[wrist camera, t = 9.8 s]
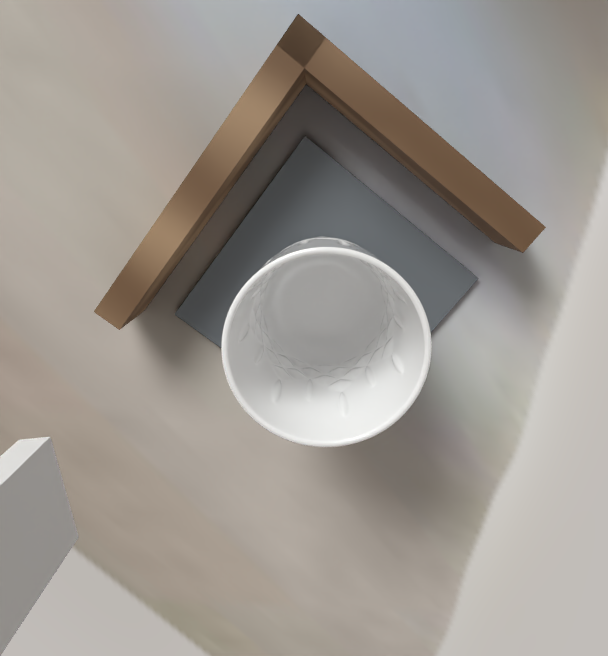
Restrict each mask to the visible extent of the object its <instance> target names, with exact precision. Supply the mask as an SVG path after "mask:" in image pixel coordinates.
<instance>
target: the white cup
mask: <svg viewBox="0 0 608 656" xmlns="http://www.w3.org/2000/svg"><path fill="white" fill-rule="evenodd" d="M431 349H432V344H431V333H430V327H429V323H428V319H427V316H426V313H425V311H424V308H423V306H422V304H421V302H420V300H419V298H418V297H417V295H416V294H415V292H414V291H413V289H412V288H411V287H410V285H409V284H408V283H407V282H406V281H405V280H404V279H403V278H402V277H401V276H400V275H399V274H398V273H397V272H396V271H395V270H393V269H392V268H391V267H389V266H388V265H386V264H385V263H384V262H382V261H381V260H380V259H378V258H377V257H375V256H374V255H373V254H372V253H370V252H369V251H367V250H365V249H364V248H362V247H360V246H358V245H356V244H354V243H351V242H350V241H346V240H342V239H338V238H331V237H326V236H319V237H315V238H311V239H306V240H302V241H299V242H295V243H294V244H292V245H290V246H288V247H287V248H285V249H284V250H282V251H281V252H279V253H278V254H276V255H275V256H274V257H272V258H271V259H270V260H269V261H267V262H266V263H265V264H264V265H263V266H262V267H261V268H260V270H259V271H258V272H257V273H255V274H254V275H253V276H252V277H251V278H250V279H249V280H248V281H247V282H246V284H245V285H244V286H243V287H242V289H241V290H240V291H239V293H238V294H237V296H236V297H235V299H234V301H233V303H232V305H231V307H230V309H229V311H228V314H227V317H226V320H225V324H224V328H223V333H222V345H221V350H222V362H223V367H224V371H225V375H226V378H227V381H228V384H229V386H230V388H231V390H232V392H233V394H234V396H235V398H236V399H237V401H238V402H239V404H240V405H241V406H242V408H243V409H244V410H245V411H246V412H247V413H248V414H249V416H250V417H251V418H253V419H254V420H255V421H256V422H257V423H258V424H260V425H261V426H262V427H264V428H265V429H266V430H268V431H270V432H271V433H273V434H275V435H277V436H279V437H281V438H283V439H286V440H288V441H291V442H294V443H298V444H302V445H306V446H313V447H339V446H346V445H351V444H355V443H358V442H361V441H364V440H367V439H369V438H371V437H374V436H376V435H377V434H379V433H381V432H383V431H384V430H386V429H387V428H389V427H390V426H392V425H393V424H394V423H395V422H397V421H398V420H399V419H400V418H401V417H402V416H403V415H404V414H405V413H406V412H407V411H408V409H409V408H410V407H411V406H412V404H413V403H414V401H415V400H416V398H417V397H418V395H419V393H420V391H421V389H422V387H423V385H424V383H425V380H426V377H427V374H428V371H429V366H430V361H431Z"/></svg>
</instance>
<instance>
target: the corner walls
mask: <svg viewBox="0 0 608 656" xmlns="http://www.w3.org/2000/svg"><path fill="white" fill-rule="evenodd" d="M306 84H307V85H308V86H309V87H310V88H311V89H313V90H314V91H315V92H316V93H317V94H319V95H320V96H321V97H322V98H323V99H325V100H326V101H327V102H328V103H329V104H331V105H332V106H333V107H334V108H335V109H336V110H338V111H339V112H340V113H341V114H342V115H344V116H345V117H346V118H347V119H348V120H350V121H351V122H352V123H353V124H354V125H356V126H357V127H358V128H359V129H360V130H361V131H363V132H364V133H365V134H366V135H367V136H369V137H370V138H371V139H372V140H373V141H375V142H376V143H377V144H378V145H379V146H381V147H382V148H383V149H384V150H385V151H386V152H388V153H389V154H390V155H391V156H392V157H394V158H395V159H396V160H397V161H398V162H400V163H401V164H402V165H403V166H404V167H406V168H407V169H408V170H409V171H410V172H411V173H413V174H414V175H415V176H416V177H417V178H419V179H420V180H421V181H422V182H423V183H425V184H426V185H427V186H428V187H429V188H431V189H432V190H433V191H434V192H435V193H436V194H438V195H439V196H440V197H441V198H442V199H444V200H445V201H446V202H447V203H448V204H450V205H451V206H452V207H453V208H454V209H456V210H457V211H458V212H459V213H460V214H461V215H463V216H464V217H465V218H466V219H467V220H469V221H470V222H471V223H472V224H473V225H475V226H476V227H477V228H478V229H479V230H481V231H482V232H483V233H484V234H485V235H487V236H488V237H489V238H490V239H491V240H492V241H494V242H495V243H497V244H500V245H502V246H505V247H508V248H511V249H514V250H517V251H519V252H522V253H523V252H524V251H525V250H526V249H527V248H528V247H529V245H530V244H531V243H532V242H533V241H534V240H535V239H536V238H537V237H538V235H539V234H540V233H541V232H542V231H543V230H544V229H545V228H546V227H545V226H544V225H543V224H541V223H540V222H539V221H538V220H537V219H536V218H534V217H533V216H532V215H531V214H530V213H529V212H527V211H526V210H525V209H524V208H523V207H522V206H521V205H519V204H518V203H517V202H516V201H515V200H514V199H512V198H511V197H510V196H509V195H508V194H507V193H505V192H504V191H503V190H502V189H501V188H500V187H498V186H497V185H496V184H495V183H494V182H493V181H492V180H490V179H489V178H488V177H487V176H486V175H485V174H483V173H482V172H481V171H480V170H479V169H478V168H476V167H475V166H474V165H473V164H472V163H471V162H469V161H468V160H467V159H466V158H465V157H464V156H463V155H461V154H460V153H459V152H458V151H457V150H456V149H454V148H453V147H452V146H451V145H450V144H449V143H447V142H446V141H445V140H444V139H443V138H442V137H440V136H439V135H438V134H437V133H436V132H435V131H434V130H432V129H431V128H430V127H429V126H428V125H427V124H425V123H424V122H423V121H422V120H421V119H420V118H418V117H417V116H416V115H415V114H414V113H413V112H411V111H410V110H409V109H408V108H407V107H406V106H405V105H403V104H402V103H401V102H400V101H399V100H398V99H396V98H395V97H394V96H393V95H392V94H391V93H389V92H388V91H387V90H386V89H385V88H384V87H382V86H381V85H380V84H379V83H378V82H377V81H376V80H374V79H373V78H372V77H371V76H370V75H369V74H367V73H366V72H365V71H364V70H363V69H362V68H360V67H359V66H358V65H357V64H356V63H355V62H353V61H352V60H351V59H350V58H349V57H348V56H347V55H345V54H344V53H343V52H342V51H341V50H340V49H338V48H337V47H336V46H335V45H334V44H333V43H331V42H330V41H329V40H328V39H327V38H326V37H324V36H323V35H322V34H321V33H320V32H319V31H318V30H316V29H315V28H314V27H313V26H312V25H311V24H309V23H308V22H307V21H306V20H305V19H304V18H302V17H301V16H300V15H299V14H298V15H297V16H296V18H295V19H294V21H293V22H292V24H291V25H290V26H289V28H288V29H287V31H286V32H285V34H284V35H283V37H282V38H281V40H280V41H279V42H278V44H277V45H276V47H275V48H274V50H273V51H272V53H271V54H270V56H269V57H268V59H267V60H266V61H265V63H264V64H263V66H262V67H261V69H260V70H259V72H258V73H257V75H256V76H255V77H254V79H253V80H252V82H251V83H250V85H249V86H248V88H247V89H246V91H245V92H244V93H243V95H242V96H241V98H240V99H239V101H238V102H237V104H236V105H235V107H234V108H233V110H232V111H231V112H230V114H229V115H228V117H227V118H226V120H225V121H224V123H223V124H222V126H221V127H220V128H219V130H218V131H217V133H216V134H215V136H214V137H213V139H212V140H211V142H210V143H209V145H208V146H207V147H206V149H205V150H204V152H203V153H202V155H201V156H200V158H199V159H198V161H197V162H196V163H195V165H194V166H193V168H192V169H191V171H190V172H189V174H188V175H187V177H186V178H185V180H184V181H183V182H182V184H181V185H180V187H179V188H178V190H177V191H176V193H175V194H174V196H173V197H172V198H171V200H170V201H169V203H168V204H167V206H166V207H165V209H164V210H163V212H162V213H161V215H160V216H159V217H158V219H157V220H156V222H155V223H154V225H153V226H152V228H151V229H150V231H149V232H148V233H147V235H146V236H145V238H144V239H143V241H142V242H141V244H140V245H139V247H138V248H137V249H136V251H135V252H134V254H133V255H132V257H131V258H130V260H129V261H128V263H127V264H126V266H125V267H124V268H123V270H122V271H121V273H120V274H119V276H118V277H117V279H116V280H115V282H114V283H113V284H112V286H111V287H110V289H109V290H108V292H107V293H106V295H105V296H104V298H103V299H102V301H101V302H100V303H99V305H98V306H97V308H96V309H95V311H94V312H95V313H96V314H98V315H99V316H101V317H102V318H103V319H105V320H106V321H108V322H109V323H110V324H112V325H113V326H115V327H116V328H117V329H119V330H120V329H121V328H122V327H124V326H125V325H126V324H128V323H129V322H130V321H132V320H133V319H134V318H136V317H137V316H138V315H139V314H141V313H142V312H143V311H144V310H145V309H146V308H147V306H148V305H149V303H150V302H151V301H152V299H153V298H154V296H155V295H156V294H157V292H158V291H159V289H160V288H161V287H162V285H163V284H164V282H165V281H166V280H167V278H168V277H169V275H170V274H171V273H172V271H173V270H174V268H175V267H176V266H177V264H178V263H179V261H180V260H181V259H182V257H183V256H184V254H185V253H186V252H187V250H188V249H189V247H190V246H191V245H192V243H193V242H194V240H195V239H196V238H197V236H198V235H199V233H200V232H201V231H202V229H203V228H204V226H205V225H206V224H207V222H208V221H209V219H210V218H211V217H212V215H213V214H214V212H215V211H216V210H217V208H218V207H219V205H220V204H221V203H222V201H223V200H224V198H225V197H226V196H227V194H228V193H229V191H230V190H231V189H232V187H233V186H234V184H235V183H236V182H237V180H238V179H239V177H240V176H241V175H242V173H243V172H244V170H245V169H246V168H247V166H248V165H249V163H250V162H251V161H252V159H253V158H254V156H255V155H256V153H257V152H258V151H259V149H260V148H261V146H262V145H263V144H264V142H265V141H266V139H267V138H268V137H269V135H270V134H271V132H272V131H273V130H274V128H275V127H276V125H277V124H278V123H279V121H280V120H281V118H282V117H283V116H284V114H285V113H286V111H287V110H288V109H289V107H290V106H291V104H292V103H293V102H294V100H295V99H296V97H297V96H298V95H299V93H300V92H301V90H302V89H303V88H304V86H305V85H306Z"/></svg>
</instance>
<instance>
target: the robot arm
mask: <svg viewBox="0 0 608 656" xmlns="http://www.w3.org/2000/svg"><path fill="white" fill-rule="evenodd" d="M78 537H79V536H78V533H77V529H76V526H75V522H74V519H73V515H72V512H71V508H70V504H69V501H68V497H67V494H66V490H65V487H64V483H63V480H62V476H61V472H60V469H59V465H58V462H57V458H56V455H55V451H54V448H53V444H52V440H51V437H42V438H33V439H23V440H18V441H17V442H16V443H15V444H14V445H13V446H11V447H10V448H9V449H8V450H7V451H6V452H5V453H4V454H2V455H1V456H0V655H1V654H2V653H3V651H4V650H5V648H6V647H7V645H8V643H9V642H10V640H11V639H12V637H13V636H14V634H15V633H16V631H17V630H18V628H19V627H20V625H21V624H22V622H23V621H24V619H25V618H26V616H27V615H28V613H29V611H30V610H31V609H32V607H33V606H34V604H35V603H36V601H37V599H38V598H39V597H40V595H41V593H42V592H43V590H44V589H45V587H46V586H47V584H48V583H49V581H50V580H51V578H52V576H53V575H54V574H55V572H56V571H57V569H58V568H59V566H60V565H61V563H62V562H63V560H64V558H65V557H66V556H67V554H68V553H69V551H70V550H71V548H72V547H73V545H74V544H75V542H76V540H77V539H78Z"/></svg>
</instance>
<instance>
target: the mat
mask: <svg viewBox="0 0 608 656" xmlns="http://www.w3.org/2000/svg"><path fill="white" fill-rule="evenodd" d="M319 236H326V237H331V238H338V239H342V240H346V241H350V242H351V243H354V244H356V245H358V246H360V247H362V248H364V249H365V250H367V251H369V252H370V253H372V254H373V255H374V256H375V257H377V258H378V259H380V260H381V261H382V262H384V263H385V264H386V265H388V266H389V267H391V268H392V269H393V270H395V271H396V272H397V273H398V274H399V275H400V276H401V277H402V278H403V279H404V280H405V281H406V282H407V283H408V284H409V285H410V287H411V288H412V289H413V291H414V292H415V294H416V295H417V297H418V298H419V300H420V302H421V304H422V306H423V308H424V311H425V313H426V316H427V319H428V323H429V327H430V333H431V332H432V331H433V329H434V328H435V327H436V326H437V325H438V324H439V323H440V321H441V320H442V319H443V318H444V317H445V316H446V315H447V314H448V312H449V311H450V310H451V309H452V308H453V307H454V306H455V304H456V303H457V302H458V301H459V300H460V299H461V298H462V297H463V295H464V294H465V293H466V292H467V291H468V290H469V289H470V287H471V286H472V285H473V284H474V283H475V282H476V281H477V280H478V277H476V276H475V275H474V274H473V273H471V272H470V271H469V270H468V269H467V268H465V267H464V266H463V265H462V264H461V263H459V262H458V261H457V260H456V259H454V258H453V257H452V256H451V255H450V254H448V253H447V252H446V251H445V250H443V249H442V248H441V247H440V246H439V245H437V244H436V243H435V242H434V241H432V240H431V239H430V238H429V237H428V236H426V235H425V234H424V233H423V232H422V231H420V230H419V229H418V228H417V227H415V226H414V225H413V224H412V223H411V222H409V221H408V220H407V219H406V218H404V217H403V216H402V215H401V214H400V213H398V212H397V211H396V210H395V209H394V208H392V207H391V206H390V205H389V204H387V203H386V202H385V201H384V200H383V199H381V198H380V197H379V196H378V195H376V194H375V193H374V192H373V191H372V190H370V189H369V188H368V187H367V186H366V185H364V184H363V183H362V182H361V181H359V180H358V179H357V178H356V177H355V176H353V175H352V174H351V173H350V172H348V171H347V170H346V169H345V168H344V167H342V166H341V165H340V164H339V163H338V162H336V161H335V160H334V159H333V158H331V157H330V156H329V155H328V154H327V153H325V152H324V151H323V150H322V149H320V148H319V147H318V146H317V145H316V144H314V143H313V142H312V141H311V140H310V139H308V138H307V137H306V136H305V137H304V138H303V139H302V141H301V142H300V144H299V145H298V146H297V148H296V149H295V150H294V152H293V153H292V155H291V156H290V157H289V159H288V160H287V161H286V163H285V164H284V165H283V167H282V168H281V170H280V171H279V172H278V174H277V175H276V176H275V178H274V179H273V181H272V182H271V183H270V185H269V186H268V187H267V189H266V190H265V191H264V193H263V194H262V196H261V197H260V198H259V200H258V201H257V202H256V204H255V205H254V206H253V208H252V209H251V211H250V212H249V213H248V215H247V216H246V217H245V219H244V220H243V222H242V223H241V224H240V226H239V227H238V228H237V230H236V231H235V232H234V234H233V235H232V237H231V238H230V239H229V241H228V242H227V243H226V245H225V246H224V247H223V249H222V250H221V252H220V253H219V254H218V256H217V257H216V258H215V260H214V261H213V263H212V264H211V265H210V267H209V268H208V269H207V271H206V272H205V273H204V275H203V276H202V278H201V279H200V280H199V282H198V283H197V284H196V286H195V287H194V288H193V290H192V291H191V293H190V294H189V295H188V297H187V298H186V299H185V301H184V302H183V304H182V305H181V306H180V308H179V309H178V310H177V312H176V313H175V315H176V316H177V317H179V318H180V319H182V320H183V321H184V322H186V323H187V324H188V325H190V326H191V327H193V328H194V329H195V330H197V331H198V332H200V333H201V334H202V335H204V336H205V337H206V338H208V339H209V340H211V341H212V342H213V343H215V344H216V345H217V346H219V347H220V348H221V345H222V333H223V328H224V324H225V320H226V317H227V314H228V311H229V309H230V307H231V305H232V303H233V301H234V299H235V297H236V296H237V294H238V293H239V291H240V290H241V289H242V287H243V286H244V285H245V284H246V282H247V281H248V280H249V279H250V278H251V277H252V276H253V275H254V274H255V273H257V272H258V271H259V270H260V268H261V267H262V266H263V265H264V264H265V263H266V262H267V261H269V260H270V259H271V258H272V257H274V256H275V255H276V254H278V253H279V252H281V251H282V250H284V249H285V248H287V247H288V246H290V245H292V244H294V243H295V242H299V241H302V240H306V239H311V238H315V237H319Z"/></svg>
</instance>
